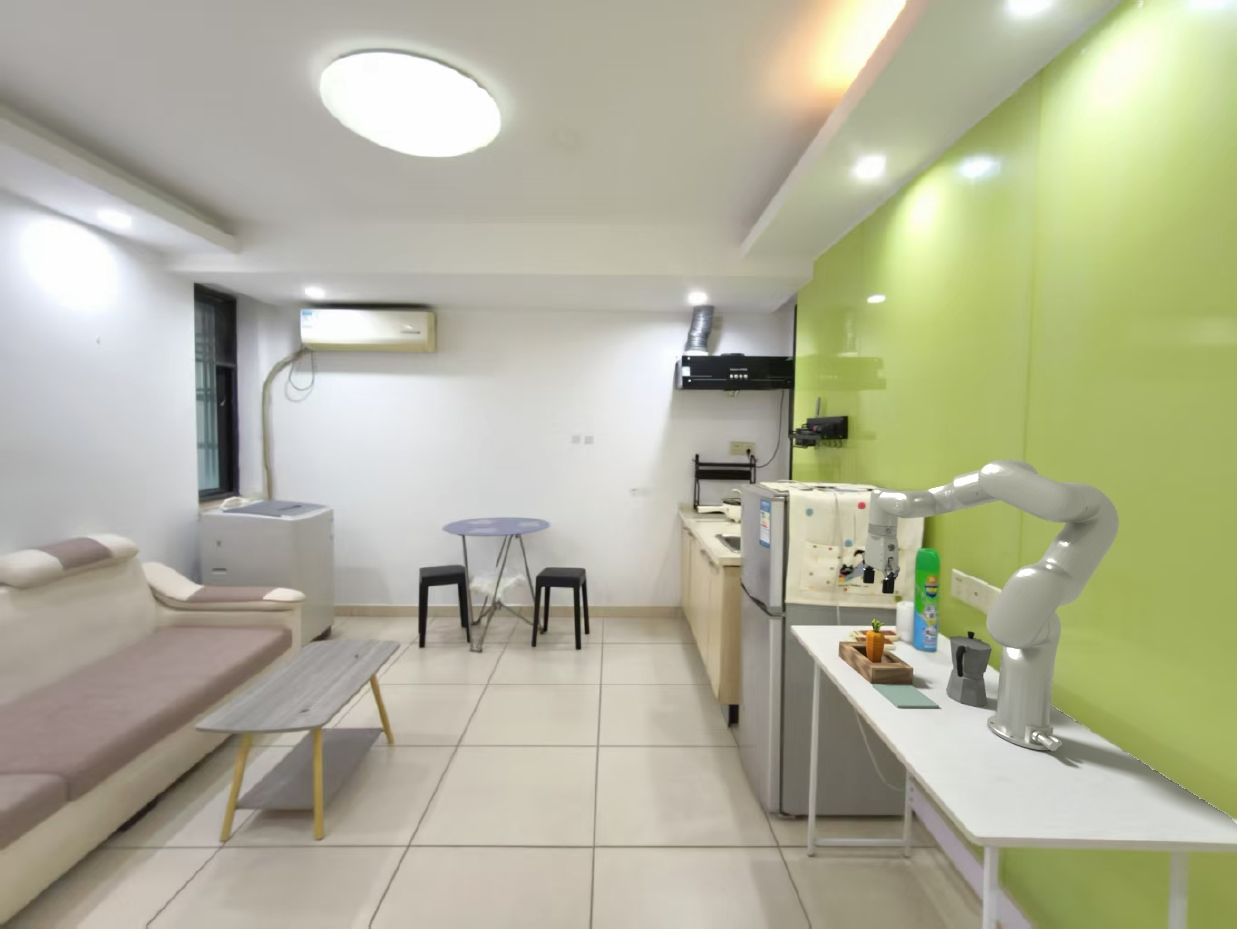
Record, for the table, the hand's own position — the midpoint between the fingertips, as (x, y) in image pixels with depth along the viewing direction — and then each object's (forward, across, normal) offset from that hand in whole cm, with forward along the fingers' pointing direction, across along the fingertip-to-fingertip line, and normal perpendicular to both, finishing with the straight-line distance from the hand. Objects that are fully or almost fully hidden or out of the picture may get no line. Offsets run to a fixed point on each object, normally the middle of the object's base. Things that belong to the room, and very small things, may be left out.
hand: (877, 588), depth 147 cm
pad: (+24, -16, +1) cm, 29 cm away
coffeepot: (+24, -18, -15) cm, 34 cm away
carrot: (+24, 0, 0) cm, 25 cm away
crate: (+24, 0, 0) cm, 24 cm away
